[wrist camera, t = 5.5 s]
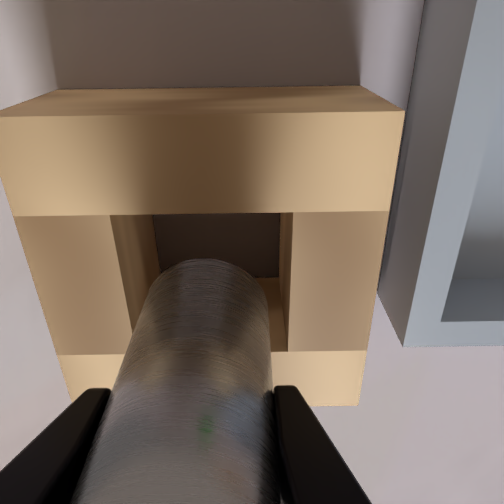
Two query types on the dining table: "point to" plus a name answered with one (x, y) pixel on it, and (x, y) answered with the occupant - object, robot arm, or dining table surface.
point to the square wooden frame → (205, 202)
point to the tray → (450, 184)
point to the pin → (190, 398)
